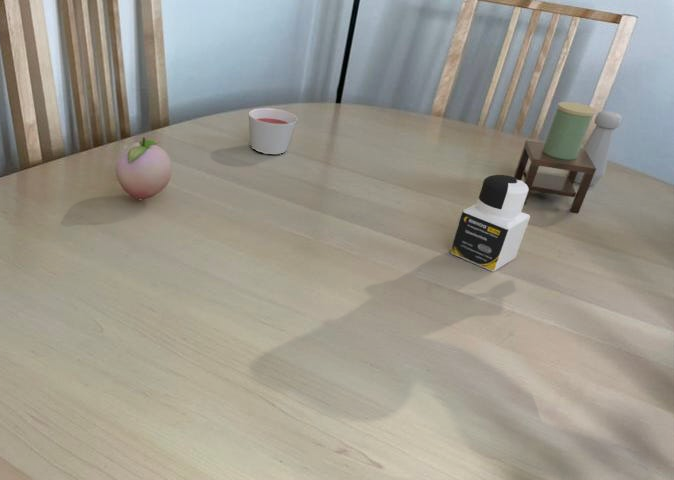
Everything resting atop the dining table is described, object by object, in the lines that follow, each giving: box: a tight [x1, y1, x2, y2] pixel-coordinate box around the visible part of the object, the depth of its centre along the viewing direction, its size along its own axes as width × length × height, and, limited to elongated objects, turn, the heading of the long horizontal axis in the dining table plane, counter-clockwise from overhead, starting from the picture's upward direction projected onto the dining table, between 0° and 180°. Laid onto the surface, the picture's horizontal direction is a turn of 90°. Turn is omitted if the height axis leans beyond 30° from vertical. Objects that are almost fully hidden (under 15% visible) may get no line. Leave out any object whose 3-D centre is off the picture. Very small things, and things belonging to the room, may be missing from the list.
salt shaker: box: [574, 110, 623, 186], centre depth 137 cm, size 6×6×13 cm
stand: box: [513, 139, 596, 214], centre depth 130 cm, size 10×10×8 cm
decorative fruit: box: [115, 137, 173, 200], centre depth 114 cm, size 9×8×10 cm
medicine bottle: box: [450, 174, 531, 273], centre depth 107 cm, size 7×7×12 cm
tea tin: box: [543, 101, 596, 160], centre depth 125 cm, size 6×6×8 cm
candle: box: [248, 107, 298, 154], centre depth 139 cm, size 9×9×6 cm
